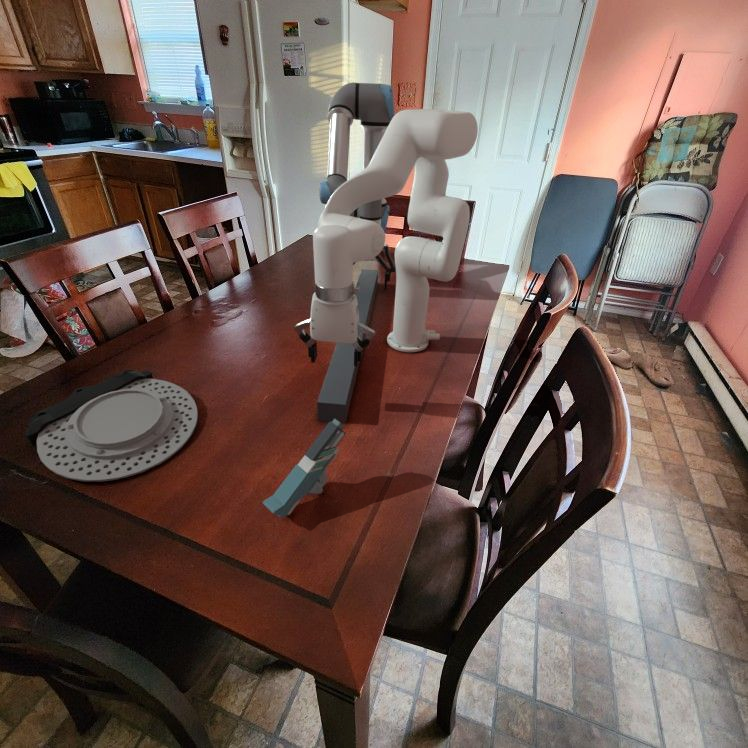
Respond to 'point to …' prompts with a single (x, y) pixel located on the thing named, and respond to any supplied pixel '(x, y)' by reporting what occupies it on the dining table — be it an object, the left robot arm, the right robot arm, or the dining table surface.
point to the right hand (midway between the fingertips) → (335, 361)
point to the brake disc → (113, 427)
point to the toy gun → (307, 472)
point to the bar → (346, 359)
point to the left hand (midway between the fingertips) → (367, 287)
